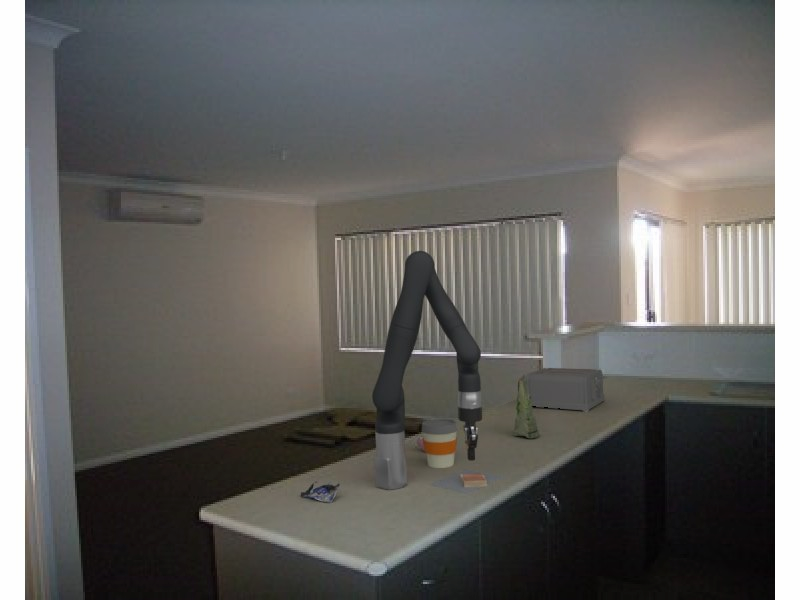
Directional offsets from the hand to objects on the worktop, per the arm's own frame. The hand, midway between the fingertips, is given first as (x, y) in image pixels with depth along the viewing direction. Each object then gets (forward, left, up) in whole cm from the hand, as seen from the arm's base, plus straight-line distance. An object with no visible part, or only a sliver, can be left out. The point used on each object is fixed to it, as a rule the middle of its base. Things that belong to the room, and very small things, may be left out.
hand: (471, 459), depth 190 cm
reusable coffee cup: (+10, +20, -8) cm, 24 cm away
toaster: (+133, +34, -8) cm, 137 cm away
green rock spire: (+62, +17, -8) cm, 65 cm away
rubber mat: (0, +2, -7) cm, 8 cm away
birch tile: (+2, +2, -6) cm, 7 cm away
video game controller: (+24, +38, -8) cm, 45 cm away
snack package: (-37, +30, -8) cm, 48 cm away
